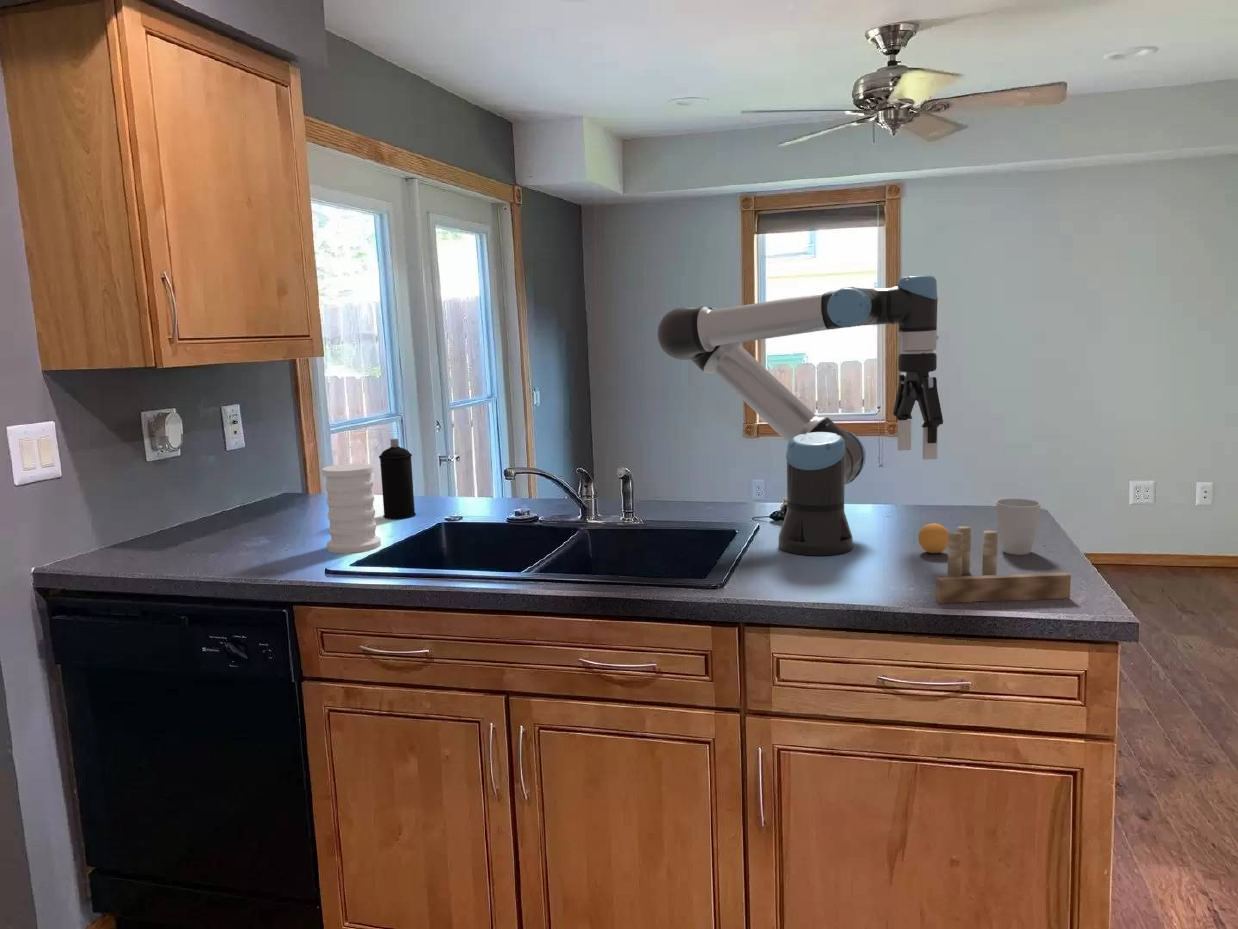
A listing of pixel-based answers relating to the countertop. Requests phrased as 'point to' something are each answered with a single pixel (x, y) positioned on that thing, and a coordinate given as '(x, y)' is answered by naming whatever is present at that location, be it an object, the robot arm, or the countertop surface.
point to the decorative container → (350, 508)
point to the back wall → (1003, 587)
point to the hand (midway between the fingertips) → (916, 454)
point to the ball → (933, 538)
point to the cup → (1017, 524)
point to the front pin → (965, 548)
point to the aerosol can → (397, 482)
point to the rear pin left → (989, 553)
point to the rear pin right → (954, 554)
